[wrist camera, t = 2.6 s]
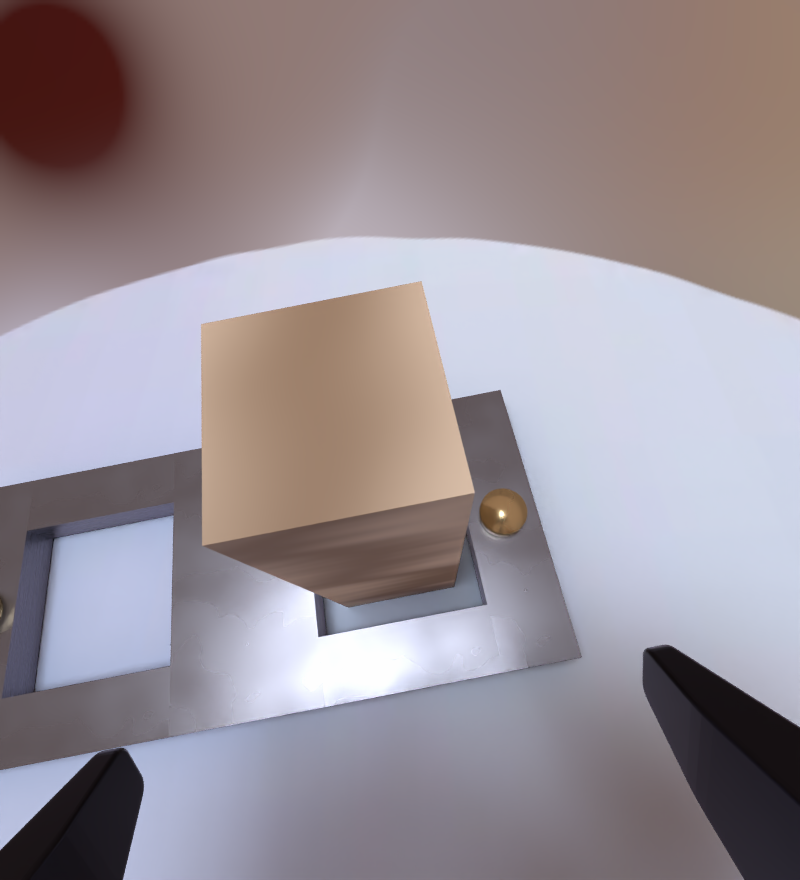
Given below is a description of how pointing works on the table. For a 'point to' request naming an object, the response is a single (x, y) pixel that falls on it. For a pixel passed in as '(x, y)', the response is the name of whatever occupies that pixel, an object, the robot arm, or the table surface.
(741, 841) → the robot arm
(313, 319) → the birch peg
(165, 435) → the table surface
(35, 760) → the strike plate
